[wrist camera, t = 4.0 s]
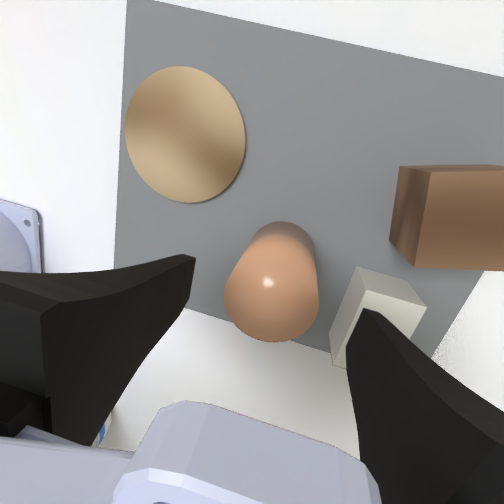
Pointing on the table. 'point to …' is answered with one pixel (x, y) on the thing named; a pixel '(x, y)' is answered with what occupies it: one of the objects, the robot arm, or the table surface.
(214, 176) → the cork pad
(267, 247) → the terracotta cylinder
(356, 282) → the pale grey plastic box
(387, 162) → the felt mat
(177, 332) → the table surface
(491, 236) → the walnut cube
